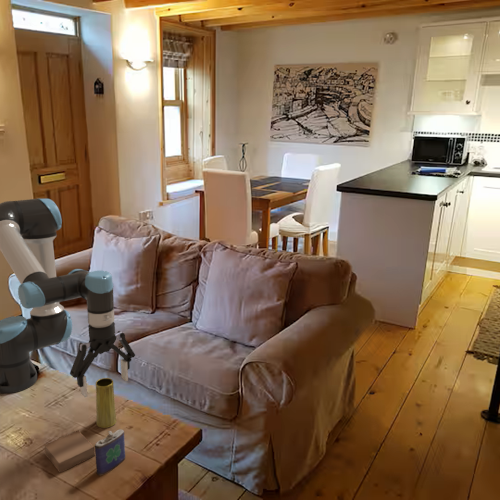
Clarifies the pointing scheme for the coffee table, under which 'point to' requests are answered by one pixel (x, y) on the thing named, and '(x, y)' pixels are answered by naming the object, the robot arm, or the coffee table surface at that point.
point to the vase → (105, 403)
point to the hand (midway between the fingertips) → (105, 387)
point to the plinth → (69, 451)
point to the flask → (110, 452)
